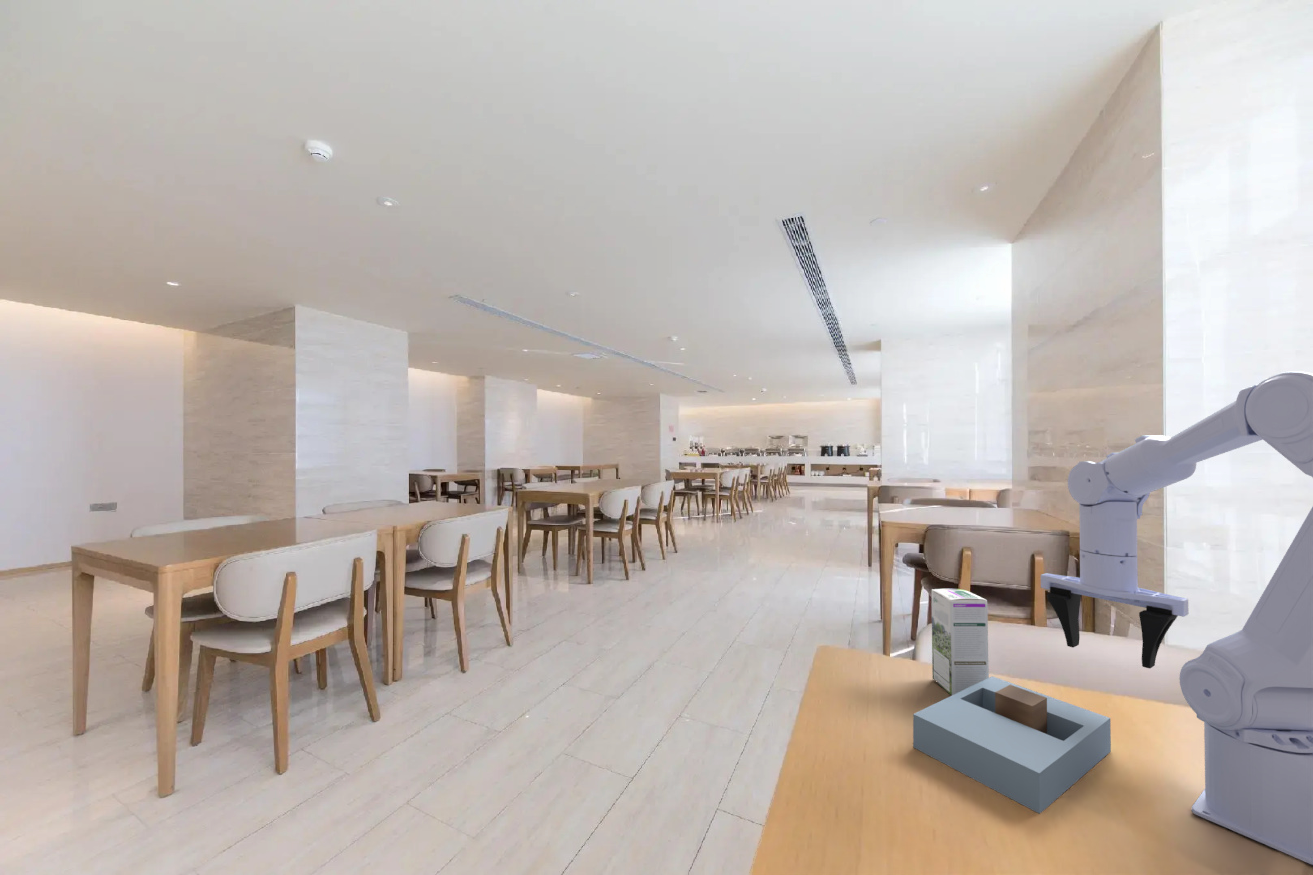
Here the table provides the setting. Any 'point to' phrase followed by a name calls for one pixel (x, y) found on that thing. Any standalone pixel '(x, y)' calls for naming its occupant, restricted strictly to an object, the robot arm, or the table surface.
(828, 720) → the table surface
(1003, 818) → the table surface
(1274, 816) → the robot arm
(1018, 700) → the walnut block
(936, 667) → the syrup box
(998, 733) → the well stand
